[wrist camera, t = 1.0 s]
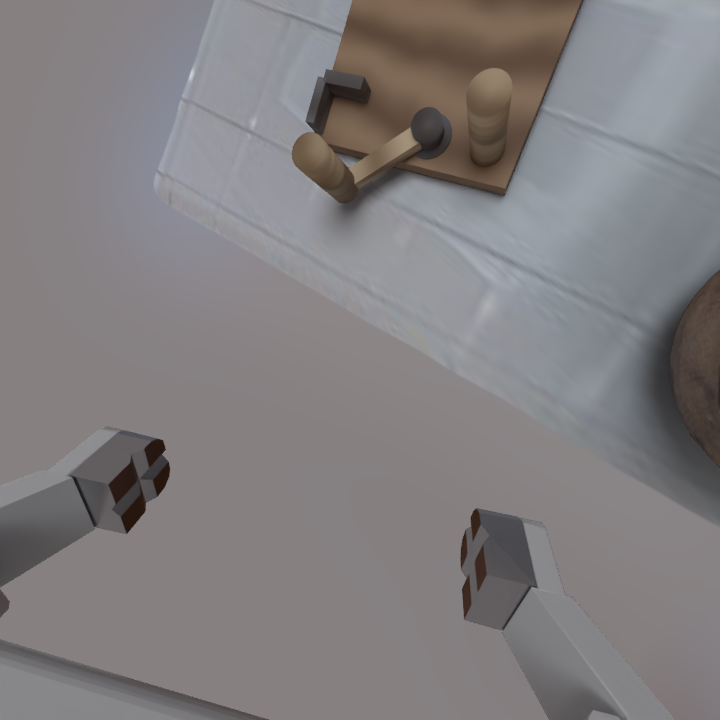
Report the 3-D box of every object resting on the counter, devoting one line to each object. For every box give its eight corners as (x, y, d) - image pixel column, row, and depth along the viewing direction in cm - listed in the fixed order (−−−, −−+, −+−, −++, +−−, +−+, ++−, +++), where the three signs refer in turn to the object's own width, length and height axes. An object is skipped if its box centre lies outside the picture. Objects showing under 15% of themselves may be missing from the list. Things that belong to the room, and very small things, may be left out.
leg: (436, 110, 36) (422, 46, 28) (449, 139, 36) (439, 83, 28) (327, 182, 41) (286, 146, 32) (338, 208, 40) (300, 178, 32)
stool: (383, -69, 38) (344, -221, 28) (604, -53, 33) (664, -237, 22) (319, 147, 43) (265, 89, 32) (504, 195, 37) (512, 143, 26)
